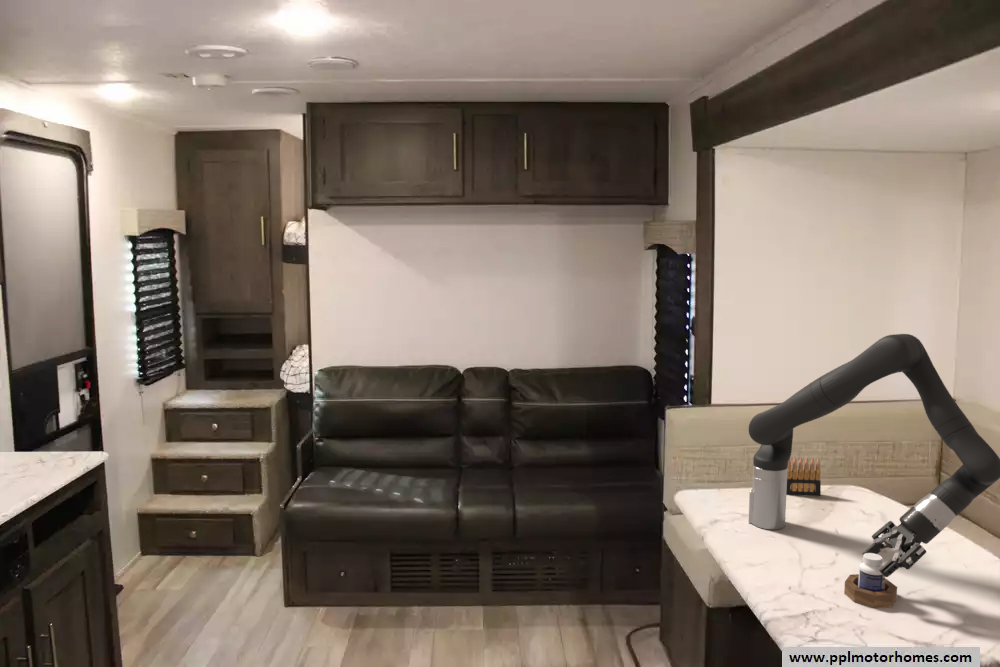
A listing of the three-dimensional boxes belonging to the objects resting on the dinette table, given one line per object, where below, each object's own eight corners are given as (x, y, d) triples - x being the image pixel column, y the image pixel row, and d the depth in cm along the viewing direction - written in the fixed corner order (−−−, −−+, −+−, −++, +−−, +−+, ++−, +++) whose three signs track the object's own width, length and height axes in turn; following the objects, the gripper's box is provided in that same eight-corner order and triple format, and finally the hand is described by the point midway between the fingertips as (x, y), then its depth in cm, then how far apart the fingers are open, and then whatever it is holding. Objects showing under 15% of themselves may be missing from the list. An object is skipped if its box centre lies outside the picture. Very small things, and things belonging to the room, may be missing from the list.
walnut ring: (840, 598, 178) (841, 586, 177) (852, 581, 185) (853, 570, 185) (888, 611, 171) (889, 599, 171) (899, 594, 179) (900, 582, 179)
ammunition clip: (819, 494, 244) (821, 457, 242) (820, 496, 242) (822, 459, 240) (783, 492, 246) (785, 456, 244) (785, 494, 244) (786, 458, 242)
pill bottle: (886, 602, 175) (889, 562, 174) (861, 600, 176) (863, 560, 175) (879, 591, 180) (882, 552, 179) (855, 589, 182) (857, 550, 180)
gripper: (901, 495, 182) (849, 542, 184) (933, 519, 168) (877, 568, 170) (922, 517, 182) (870, 562, 184) (956, 542, 168) (899, 591, 170)
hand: (873, 565), depth 177 cm, fingers open, 8 cm apart
